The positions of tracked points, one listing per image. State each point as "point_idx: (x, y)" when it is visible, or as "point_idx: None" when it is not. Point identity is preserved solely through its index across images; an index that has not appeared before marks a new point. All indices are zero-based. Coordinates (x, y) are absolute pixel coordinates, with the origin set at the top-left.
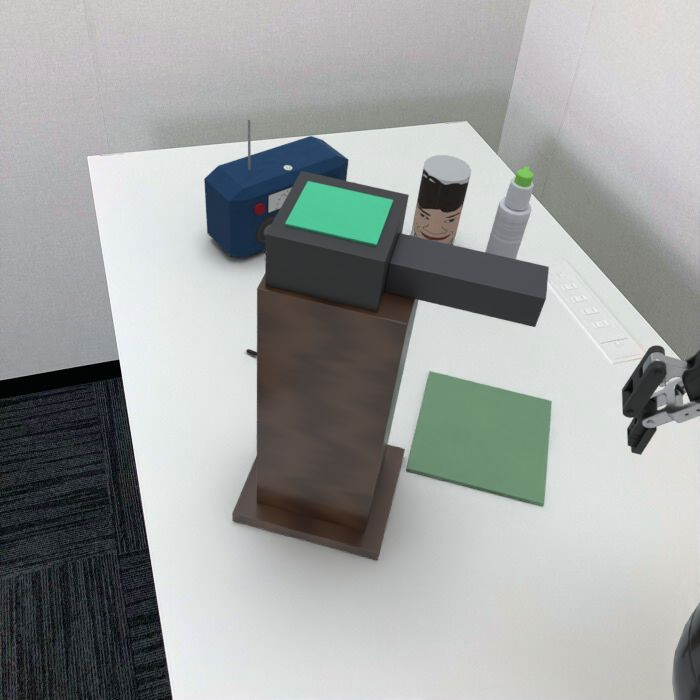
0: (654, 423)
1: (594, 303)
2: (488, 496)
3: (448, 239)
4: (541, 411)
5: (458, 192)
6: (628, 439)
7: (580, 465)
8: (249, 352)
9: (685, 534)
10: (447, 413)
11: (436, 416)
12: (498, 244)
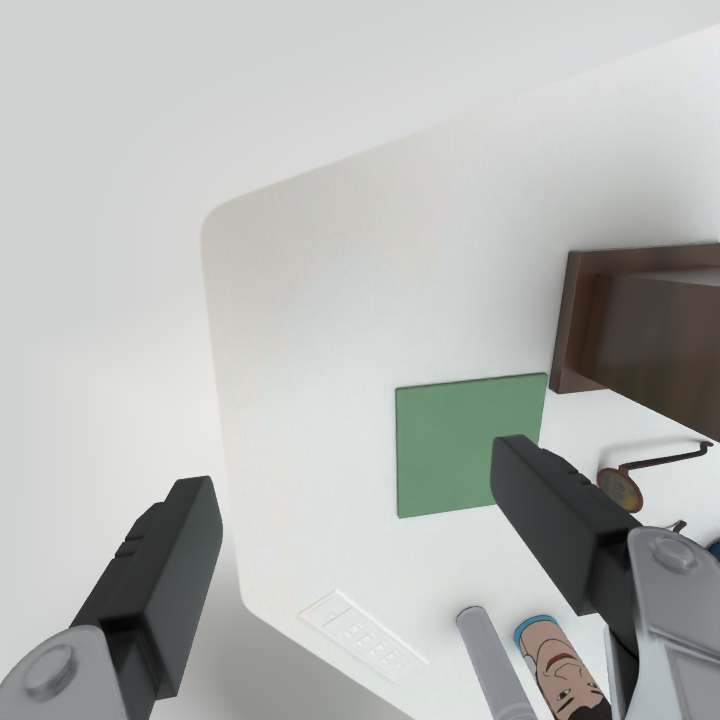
0: (665, 562)
1: (361, 650)
2: (455, 377)
3: (542, 662)
4: (409, 501)
5: None
6: (568, 464)
7: (358, 455)
8: (710, 443)
9: (230, 417)
10: None
11: None
12: (519, 695)
